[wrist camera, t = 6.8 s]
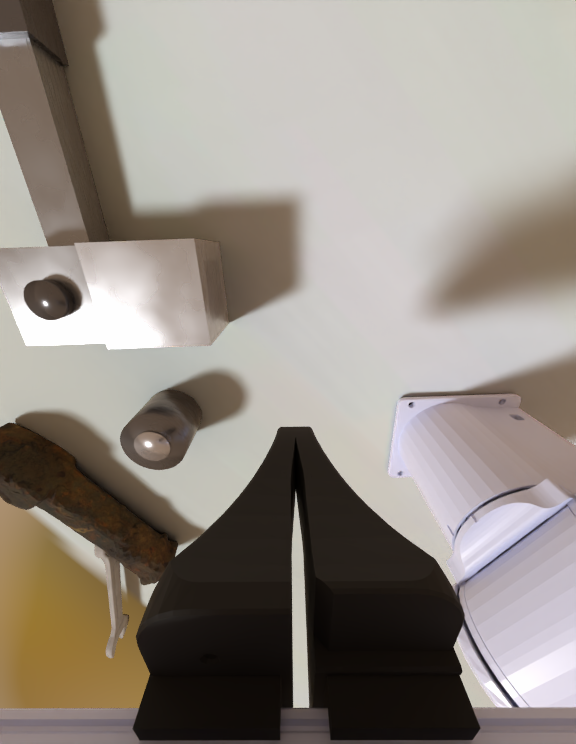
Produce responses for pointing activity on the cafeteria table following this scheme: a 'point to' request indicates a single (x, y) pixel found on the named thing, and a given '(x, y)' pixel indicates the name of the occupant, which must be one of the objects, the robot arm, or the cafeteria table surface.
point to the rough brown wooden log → (78, 502)
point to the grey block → (156, 291)
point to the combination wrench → (113, 600)
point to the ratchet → (47, 181)
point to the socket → (162, 430)
